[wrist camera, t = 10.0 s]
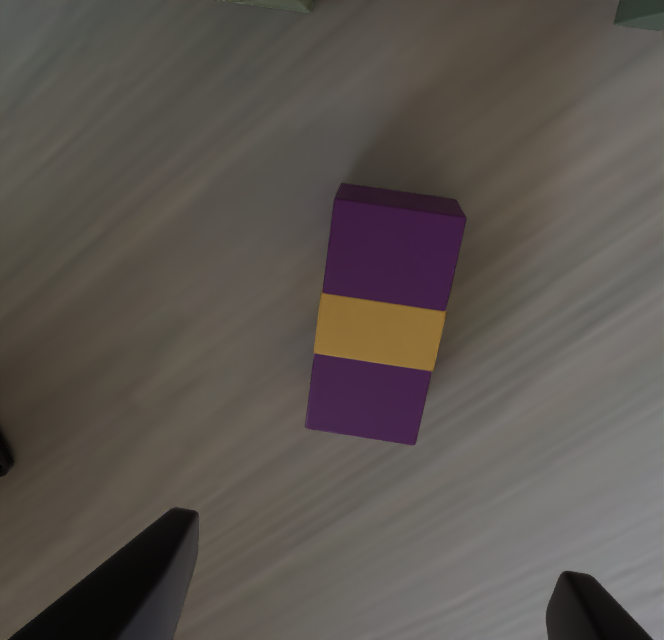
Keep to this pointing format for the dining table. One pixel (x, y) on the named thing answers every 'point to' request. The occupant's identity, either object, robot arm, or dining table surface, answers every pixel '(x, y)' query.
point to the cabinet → (279, 4)
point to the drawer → (641, 14)
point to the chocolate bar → (382, 311)
